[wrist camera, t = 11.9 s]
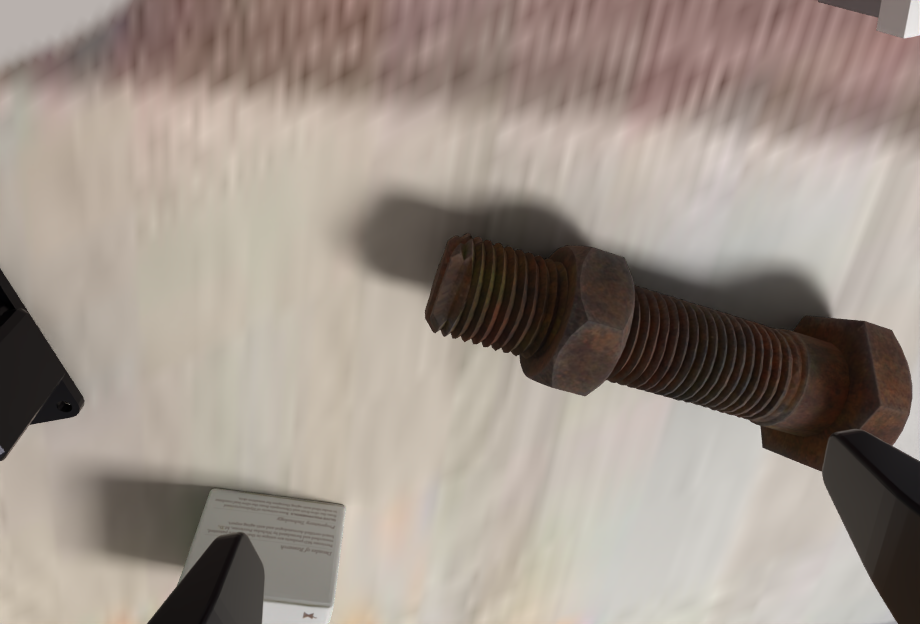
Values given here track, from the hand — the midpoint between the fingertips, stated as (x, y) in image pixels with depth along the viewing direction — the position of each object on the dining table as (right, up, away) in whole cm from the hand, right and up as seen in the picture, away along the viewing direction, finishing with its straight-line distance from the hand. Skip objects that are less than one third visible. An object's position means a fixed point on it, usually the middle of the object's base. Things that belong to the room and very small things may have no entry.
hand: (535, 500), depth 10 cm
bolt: (+5, +3, +13) cm, 15 cm away
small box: (-9, -7, +18) cm, 22 cm away
